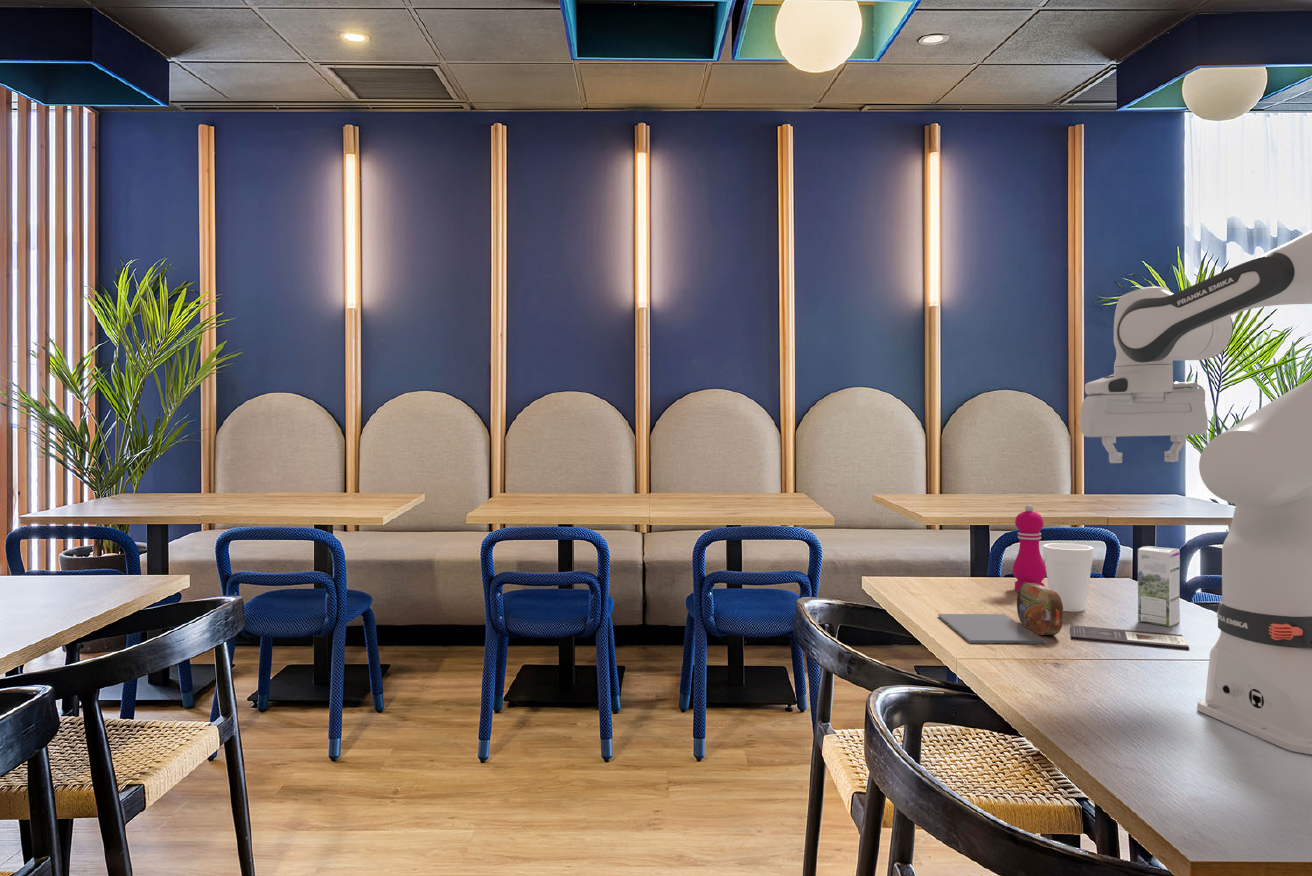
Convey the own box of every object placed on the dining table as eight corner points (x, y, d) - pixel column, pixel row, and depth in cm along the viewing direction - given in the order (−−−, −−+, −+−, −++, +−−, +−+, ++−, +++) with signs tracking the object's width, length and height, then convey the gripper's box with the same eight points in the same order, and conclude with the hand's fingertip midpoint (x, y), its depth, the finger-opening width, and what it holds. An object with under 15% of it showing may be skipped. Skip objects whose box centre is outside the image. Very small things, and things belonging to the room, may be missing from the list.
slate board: (1045, 644, 145) (1045, 640, 145) (970, 643, 146) (970, 640, 146) (1004, 617, 165) (1004, 614, 165) (938, 616, 166) (938, 614, 166)
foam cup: (1098, 614, 167) (1098, 550, 166) (1048, 612, 169) (1048, 549, 169) (1086, 604, 176) (1086, 543, 175) (1039, 602, 178) (1039, 542, 178)
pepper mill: (1006, 588, 193) (1005, 503, 193) (1033, 586, 195) (1033, 502, 194) (1025, 594, 186) (1024, 506, 186) (1053, 592, 187) (1053, 505, 187)
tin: (1015, 620, 163) (1015, 578, 163) (1031, 620, 163) (1031, 578, 162) (1048, 640, 148) (1048, 594, 148) (1066, 640, 148) (1066, 594, 147)
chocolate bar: (1070, 625, 156) (1181, 634, 149) (1070, 630, 156) (1182, 640, 149) (1071, 636, 148) (1189, 647, 140) (1071, 641, 148) (1189, 652, 140)
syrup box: (1180, 622, 159) (1180, 548, 159) (1169, 627, 156) (1169, 551, 155) (1148, 617, 164) (1148, 544, 163) (1136, 622, 160) (1136, 548, 160)
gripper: (1193, 382, 145) (1193, 460, 146) (1075, 385, 146) (1076, 462, 146) (1216, 380, 139) (1216, 462, 139) (1092, 383, 140) (1093, 464, 140)
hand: (1143, 462), depth 143 cm, fingers open, 8 cm apart
